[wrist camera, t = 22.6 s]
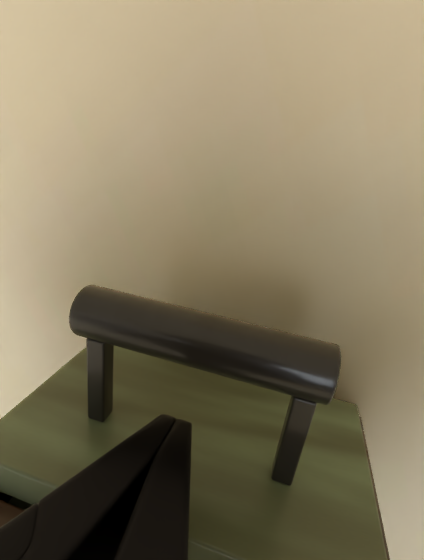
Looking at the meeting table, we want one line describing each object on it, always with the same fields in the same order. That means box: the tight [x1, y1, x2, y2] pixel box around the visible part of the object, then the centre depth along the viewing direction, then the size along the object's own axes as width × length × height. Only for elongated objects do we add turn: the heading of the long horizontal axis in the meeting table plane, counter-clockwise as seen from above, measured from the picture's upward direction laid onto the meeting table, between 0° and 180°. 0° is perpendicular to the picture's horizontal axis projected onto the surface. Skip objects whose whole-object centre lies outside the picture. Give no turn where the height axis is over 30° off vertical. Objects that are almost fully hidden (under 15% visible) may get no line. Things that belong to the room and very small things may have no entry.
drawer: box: [0, 285, 388, 560], centre depth 13 cm, size 17×11×7 cm
